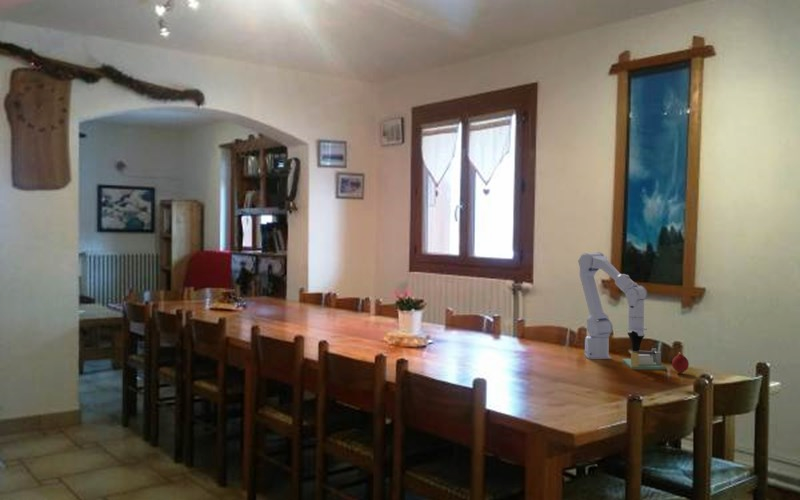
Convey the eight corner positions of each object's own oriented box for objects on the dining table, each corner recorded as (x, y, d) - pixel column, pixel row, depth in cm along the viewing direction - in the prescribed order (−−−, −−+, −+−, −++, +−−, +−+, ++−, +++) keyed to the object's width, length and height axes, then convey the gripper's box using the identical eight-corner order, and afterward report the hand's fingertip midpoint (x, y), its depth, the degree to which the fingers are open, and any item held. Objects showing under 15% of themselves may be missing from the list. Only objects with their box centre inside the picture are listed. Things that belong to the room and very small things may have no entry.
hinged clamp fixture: (631, 369, 262) (631, 354, 262) (621, 361, 276) (622, 346, 276) (665, 369, 261) (665, 354, 261) (654, 361, 275) (654, 346, 275)
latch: (632, 366, 262) (632, 353, 262) (629, 364, 266) (629, 351, 266) (638, 366, 262) (638, 353, 261) (635, 364, 266) (635, 351, 266)
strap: (630, 353, 267) (630, 350, 266) (627, 351, 271) (627, 348, 271) (659, 355, 266) (659, 352, 266) (655, 353, 270) (655, 350, 270)
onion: (688, 372, 256) (689, 351, 256) (688, 375, 251) (688, 354, 251) (672, 371, 259) (672, 350, 258) (671, 374, 254) (671, 353, 253)
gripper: (652, 319, 260) (651, 354, 261) (641, 314, 275) (640, 347, 275) (633, 319, 261) (632, 354, 261) (623, 313, 275) (623, 346, 276)
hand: (635, 350), depth 268 cm, fingers closed, pressing on strap
